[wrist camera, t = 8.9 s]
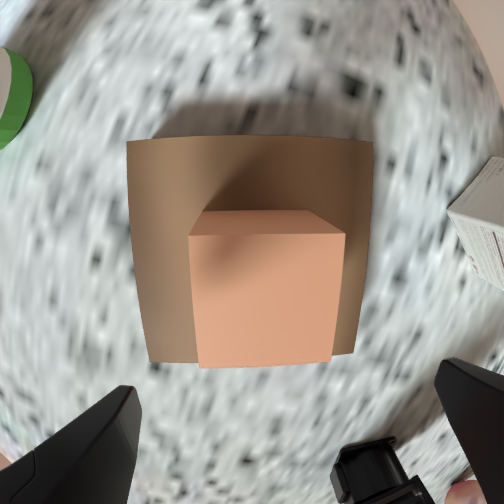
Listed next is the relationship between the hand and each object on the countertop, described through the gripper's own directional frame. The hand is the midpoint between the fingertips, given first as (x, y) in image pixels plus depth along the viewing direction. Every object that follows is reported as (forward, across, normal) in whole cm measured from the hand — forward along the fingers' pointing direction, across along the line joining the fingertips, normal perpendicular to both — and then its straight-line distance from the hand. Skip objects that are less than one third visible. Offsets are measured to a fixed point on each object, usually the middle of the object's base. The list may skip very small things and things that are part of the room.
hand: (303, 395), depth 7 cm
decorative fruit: (+12, -37, +45) cm, 60 cm away
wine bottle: (+12, +19, -12) cm, 25 cm away
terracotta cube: (+8, +1, -1) cm, 8 cm away
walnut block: (+12, +1, -1) cm, 12 cm away
